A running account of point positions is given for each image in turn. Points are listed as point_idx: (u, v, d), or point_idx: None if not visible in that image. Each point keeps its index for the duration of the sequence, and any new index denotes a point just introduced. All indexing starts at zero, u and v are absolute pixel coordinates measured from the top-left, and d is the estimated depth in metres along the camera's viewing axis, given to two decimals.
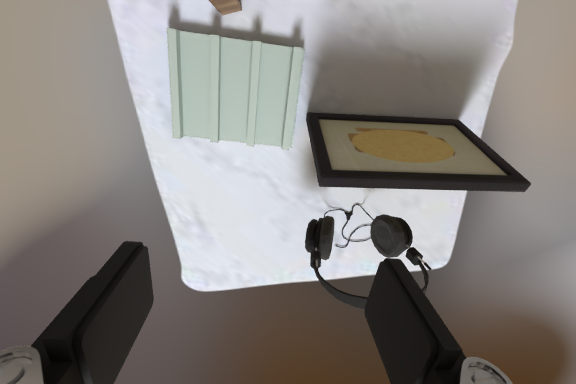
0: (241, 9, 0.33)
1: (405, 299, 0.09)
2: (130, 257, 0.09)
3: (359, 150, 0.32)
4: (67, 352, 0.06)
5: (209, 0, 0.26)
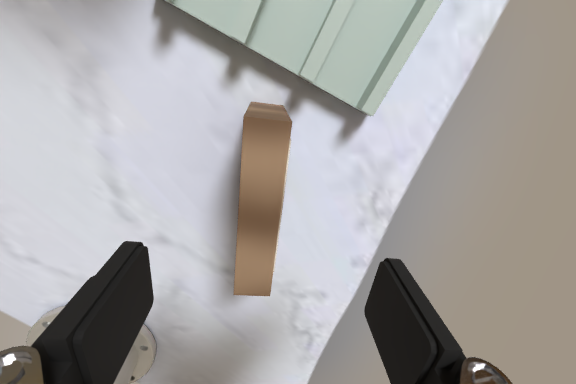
0: None
1: (405, 299, 0.09)
2: (130, 257, 0.09)
3: None
4: (67, 352, 0.06)
5: (291, 121, 0.14)
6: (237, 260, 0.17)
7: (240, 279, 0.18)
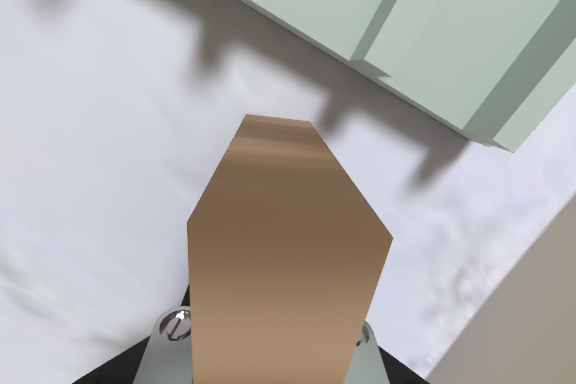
0: (245, 116, 0.10)
1: None
2: None
3: None
4: None
5: (389, 237, 0.03)
6: None
7: None
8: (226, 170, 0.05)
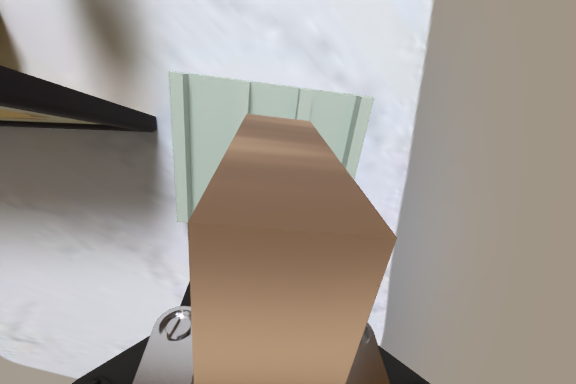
0: None
1: None
2: None
3: None
4: None
5: (393, 237, 0.03)
6: None
7: None
8: (227, 169, 0.05)
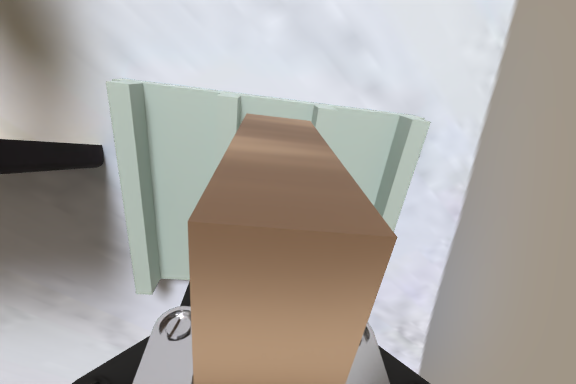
0: (245, 115, 0.10)
1: None
2: None
3: None
4: None
5: (393, 236, 0.03)
6: None
7: None
8: (227, 169, 0.05)
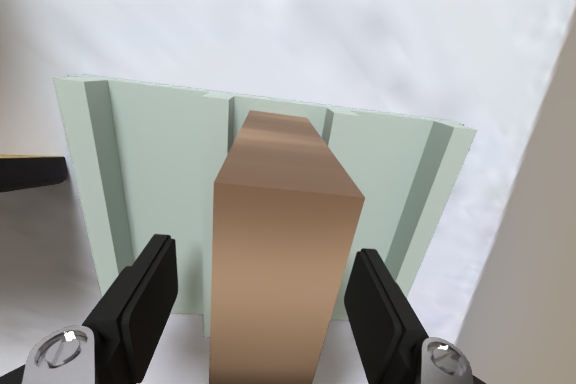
0: (249, 111, 0.11)
1: (376, 285, 0.09)
2: (161, 248, 0.09)
3: None
4: (116, 332, 0.07)
5: (362, 197, 0.04)
6: None
7: None
8: (238, 151, 0.06)
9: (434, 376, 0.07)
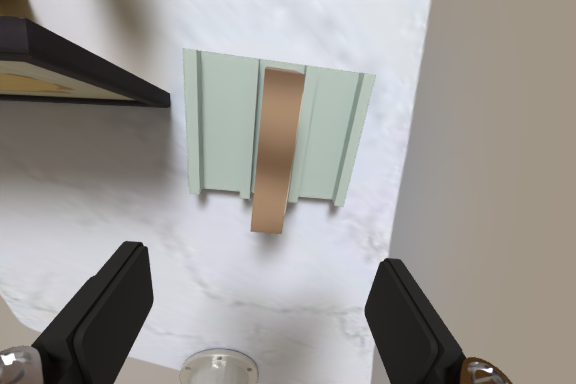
0: (267, 66, 0.23)
1: (405, 299, 0.09)
2: (130, 257, 0.09)
3: (16, 75, 0.16)
4: (67, 352, 0.06)
5: (304, 74, 0.16)
6: (254, 199, 0.20)
7: (256, 217, 0.21)
8: (268, 68, 0.18)
9: None
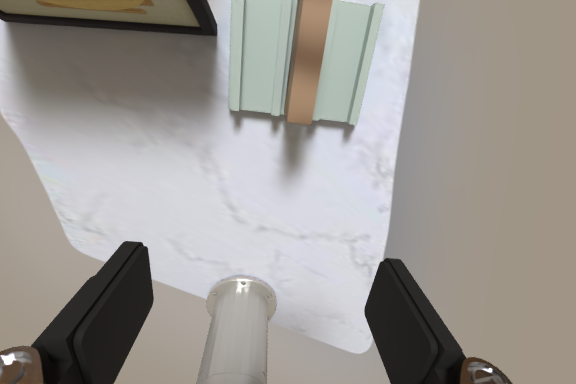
0: None
1: (405, 299, 0.09)
2: (130, 257, 0.09)
3: None
4: (67, 352, 0.06)
5: None
6: (292, 91, 0.26)
7: (292, 108, 0.26)
8: None
9: None
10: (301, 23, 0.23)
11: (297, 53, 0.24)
